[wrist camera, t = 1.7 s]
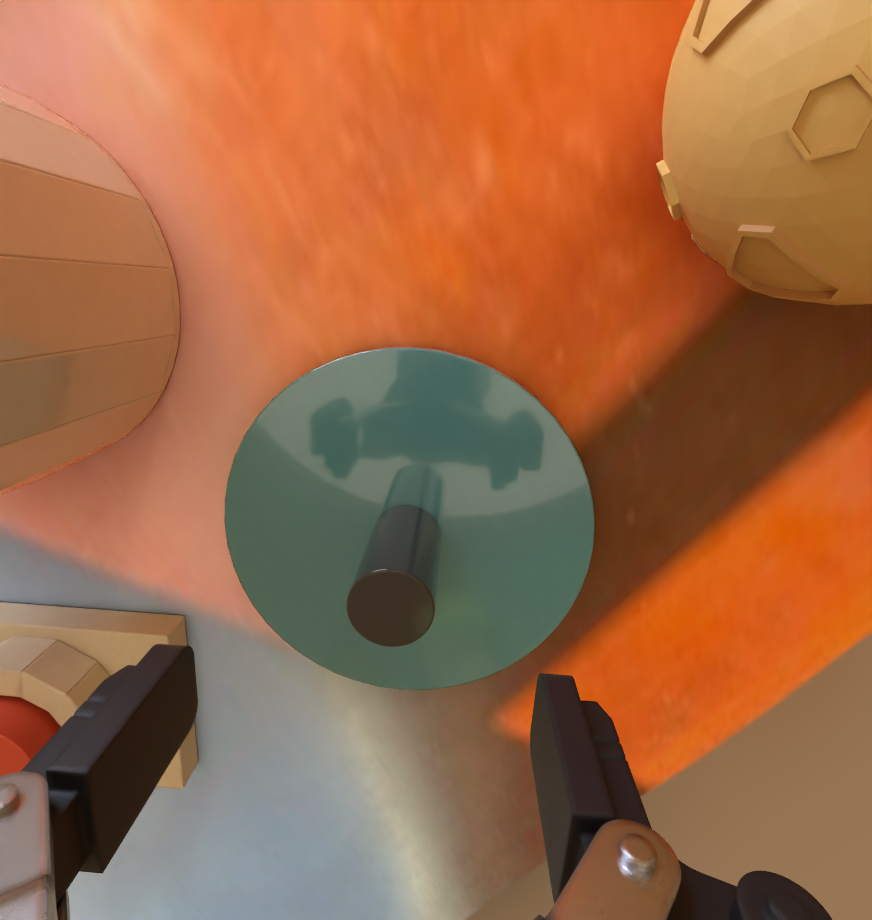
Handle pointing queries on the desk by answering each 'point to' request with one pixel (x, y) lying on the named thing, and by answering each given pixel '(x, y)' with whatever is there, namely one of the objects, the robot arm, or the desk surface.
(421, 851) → the desk surface
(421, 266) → the desk surface
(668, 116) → the stress ball
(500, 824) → the desk surface
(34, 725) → the button
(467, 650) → the lid
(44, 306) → the pot
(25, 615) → the button box
